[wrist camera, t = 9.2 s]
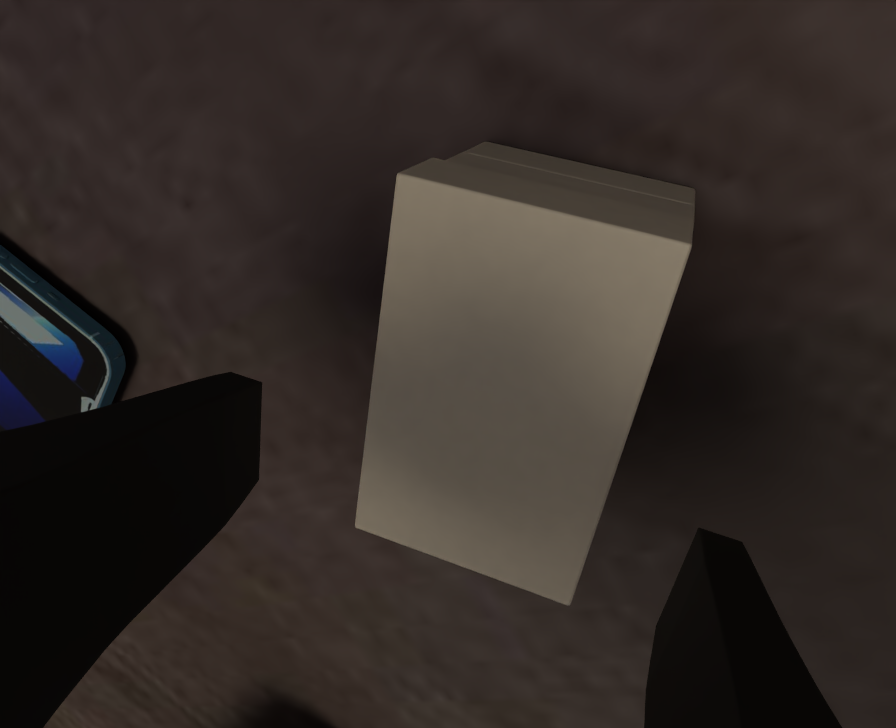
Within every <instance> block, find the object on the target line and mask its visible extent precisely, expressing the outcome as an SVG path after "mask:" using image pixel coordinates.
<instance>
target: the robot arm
mask: <svg viewBox="0 0 896 728" xmlns="http://www.w3.org/2000/svg"><path fill="white" fill-rule="evenodd" d="M261 399H262V382H259V381H256V380H253V379H250V378H247V377H244V376H241V375H238V374H235V373H232V372H228V373H223V374H218V375H214V376H210V377H206V378H202V379H198V380H195V381H191V382H187V383H184V384H180V385H177V386H173V387H170V388H166V389H163V390H160V391H156V392H153V393H149V394H146V395H142V396H139V397H135V398H132V399H128V400H125V401H121V402H118V403H114V404H111V405H107V406H104V407H100V408H96V409H92V410H88V411H84V412H80V413H76V414H73V415H69V416H65V417H61V418H57V419H53V420H49V421H45V422H41V423H37V424H33V425H28V426H24V427H19V428H15V429H10V430H5V431H0V728H43V727H44V726H45V724H46V723H47V722H48V720H49V719H50V718H51V716H52V715H53V714H54V713H55V711H56V710H57V709H58V707H59V706H60V705H61V703H62V702H63V701H64V700H65V698H66V697H67V696H68V695H69V693H70V692H71V691H72V690H73V689H74V687H75V686H76V685H77V684H78V682H79V681H80V680H81V679H82V677H83V676H84V675H85V674H86V673H87V671H88V670H89V669H90V668H91V666H92V665H93V664H94V663H95V661H96V660H97V659H98V658H99V657H100V655H101V654H102V653H103V652H104V650H105V649H106V648H107V647H108V646H109V645H110V644H111V642H112V641H113V640H114V639H115V638H116V637H117V636H118V635H119V634H120V633H121V632H122V630H123V629H124V628H125V627H126V626H127V625H128V624H129V623H130V622H131V621H132V620H133V619H134V618H135V617H136V616H137V615H138V614H139V613H140V612H141V611H142V610H143V609H144V608H145V607H146V606H147V605H148V604H149V603H150V602H151V601H152V600H153V599H154V598H155V597H156V596H157V595H158V594H159V593H160V592H161V591H162V590H163V589H164V587H165V586H166V585H167V584H168V583H169V582H170V581H171V580H172V579H173V578H174V577H175V576H176V575H177V574H178V573H179V572H180V571H181V570H182V569H183V568H184V567H185V566H186V565H187V564H188V563H189V562H190V561H191V560H192V559H193V558H194V557H195V556H196V555H197V554H198V553H199V552H200V551H201V550H202V549H203V548H204V547H205V546H206V545H207V544H208V543H209V542H210V541H211V540H212V539H213V538H214V537H215V535H216V534H217V533H218V532H219V531H220V530H221V529H222V528H223V527H224V526H225V525H226V523H227V522H228V521H229V520H230V518H231V517H232V516H233V514H234V513H235V512H236V510H237V509H238V508H239V507H240V505H241V504H242V503H243V501H244V500H245V498H246V497H247V496H248V494H249V493H250V491H251V490H252V489H253V487H254V486H255V484H256V483H257V482H258V480H259V461H260V430H261ZM644 728H842V727H841V725H840V723H839V722H838V720H837V719H836V717H835V715H834V714H833V712H832V711H831V709H830V707H829V706H828V704H827V702H826V701H825V699H824V697H823V696H822V694H821V692H820V691H819V689H818V687H817V685H816V684H815V682H814V680H813V678H812V677H811V675H810V673H809V671H808V669H807V667H806V666H805V664H804V662H803V660H802V658H801V657H800V655H799V653H798V651H797V649H796V647H795V646H794V644H793V642H792V640H791V638H790V636H789V634H788V633H787V631H786V629H785V627H784V625H783V623H782V621H781V619H780V617H779V615H778V613H777V611H776V609H775V607H774V605H773V603H772V601H771V599H770V597H769V595H768V593H767V591H766V589H765V587H764V585H763V583H762V581H761V579H760V577H759V575H758V573H757V570H756V568H755V566H754V564H753V562H752V560H751V558H750V556H749V554H748V552H747V550H746V548H745V546H744V545H743V543H742V542H741V541H738V540H735V539H732V538H729V537H726V536H723V535H720V534H717V533H714V532H711V531H708V530H705V529H702V528H698V530H697V532H696V535H695V537H694V539H693V542H692V544H691V546H690V549H689V551H688V553H687V556H686V558H685V560H684V563H683V565H682V567H681V570H680V572H679V574H678V576H677V579H676V581H675V583H674V586H673V588H672V590H671V593H670V595H669V597H668V600H667V602H666V604H665V607H664V609H663V611H662V614H661V616H660V618H659V621H658V623H657V625H656V630H655V636H654V642H653V648H652V654H651V660H650V667H649V673H648V680H647V687H646V701H645V725H644Z"/></svg>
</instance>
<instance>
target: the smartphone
mask: <svg viewBox="0 0 896 728" xmlns="http://www.w3.org/2000/svg"><path fill="white" fill-rule="evenodd" d="M125 367H126V362H125V356H124V353H123V350H122V348H121V346H120V344H119V343H118V341H117V340H116V338H115V337H114V336H113V335H112V334H111V333H110V332H109V331H108V330H106V329H105V328H104V327H103V326H101V325H100V324H99V323H98V322H96V321H95V320H94V319H93V318H91V317H90V316H89V315H88V314H86V313H85V312H84V311H83V310H81V309H80V308H79V307H78V306H76V305H75V304H74V303H73V302H71V301H70V300H69V299H68V298H66V297H65V296H64V295H63V294H61V293H60V292H59V291H58V290H56V289H55V288H54V287H53V286H51V285H50V284H49V283H48V282H46V281H45V280H44V279H43V278H41V277H40V276H39V275H38V274H36V273H35V272H34V271H33V270H31V269H30V268H29V267H28V266H26V265H25V264H24V263H23V262H21V261H20V260H19V259H18V258H16V257H15V256H14V255H13V254H11V253H10V252H9V251H8V250H6V249H5V248H4V247H3V246H1V245H0V431H5V430H10V429H15V428H19V427H24V426H28V425H33V424H37V423H41V422H45V421H49V420H53V419H57V418H61V417H65V416H69V415H73V414H76V413H80V412H84V411H88V410H92V409H96V408H100V407H104V406H107V405H111V404H112V402H113V399H114V397H115V394H116V392H117V389H118V387H119V384H120V382H121V380H122V377H123V375H124V372H125Z"/></svg>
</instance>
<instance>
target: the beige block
mask: <svg viewBox="0 0 896 728" xmlns="http://www.w3.org/2000/svg"><path fill="white" fill-rule="evenodd" d="M445 161H450V162H454V163H458V164H462V165H467V166H471V167H475V168H479V169H484V170H488V171H492V172H496V173H501V174H505V175H509V176H513V177H518V178H522V179H526V180H531V181H535V182H539V183H543V184H548V185H552V186H556V187H560V188H565V189H569V190H573V191H577V192H582V193H586V194H590V195H594V196H599V197H603V198H607V199H611V200H616V201H620V202H624V203H629V204H633V205H637V206H641V207H646V208H650V209H654V210H658V211H663V212H667V213H671V214H675V215H680V216H684V217H688V218H692V219H693V230H694V214H695V189H693V188H690V187H686V186H681V185H677V184H673V183H668V182H664V181H659V180H655V179H650V178H646V177H642V176H637V175H633V174H628V173H624V172H619V171H615V170H610V169H606V168H602V167H597V166H593V165H588V164H584V163H579V162H575V161H571V160H566V159H562V158H557V157H553V156H548V155H544V154H539V153H535V152H531V151H526V150H522V149H517V148H513V147H508V146H504V145H499V144H495V143H491V142H483V143H481V144H479V145H477V146H475V147H473V148H471V149H469V150H467V151H464V152H462V153H459V154H457V155H455V156H453V157H451V158H449V159H447V160H445Z"/></svg>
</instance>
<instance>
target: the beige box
mask: <svg viewBox="0 0 896 728" xmlns="http://www.w3.org/2000/svg"><path fill="white" fill-rule="evenodd" d="M692 236H693V219H692V218H688V217H684V216H680V215H675V214H671V213H667V212H663V211H658V210H654V209H650V208H646V207H641V206H637V205H633V204H629V203H624V202H620V201H616V200H611V199H607V198H603V197H599V196H594V195H590V194H586V193H582V192H577V191H573V190H569V189H565V188H560V187H556V186H552V185H548V184H543V183H539V182H535V181H531V180H526V179H522V178H518V177H513V176H509V175H505V174H501V173H496V172H492V171H488V170H484V169H479V168H475V167H471V166H467V165H462V164H458V163H454V162H450V161H445V160H441V159H437V158H431V159H428V160H426V161H424V162H422V163H419V164H417V165H415V166H413V167H410V168H408V169H406V170H404V171H401V172H399V173H398V174H397V177H396V186H395V194H394V203H393V211H392V219H391V228H390V236H389V244H388V253H387V261H386V269H385V278H384V286H383V294H382V303H381V311H380V319H379V328H378V336H377V344H376V353H375V361H374V369H373V378H372V386H371V395H370V403H369V411H368V420H367V428H366V436H365V445H364V453H363V461H362V470H361V478H360V486H359V495H358V503H357V511H356V520H355V527H356V528H359V529H361V530H364V531H367V532H369V533H372V534H375V535H378V536H380V537H383V538H386V539H388V540H391V541H394V542H397V543H399V544H402V545H405V546H407V547H410V548H413V549H416V550H418V551H421V552H424V553H426V554H429V555H432V556H435V557H437V558H440V559H443V560H446V561H448V562H451V563H454V564H456V565H459V566H462V567H465V568H467V569H470V570H473V571H475V572H478V573H481V574H484V575H486V576H489V577H492V578H494V579H497V580H500V581H503V582H505V583H508V584H511V585H513V586H516V587H519V588H522V589H524V590H527V591H530V592H532V593H535V594H538V595H541V596H543V597H546V598H549V599H552V600H554V601H557V602H560V603H562V604H565V605H570V604H571V602H572V599H573V596H574V593H575V590H576V587H577V584H578V581H579V578H580V575H581V572H582V569H583V566H584V564H585V561H586V558H587V555H588V552H589V549H590V546H591V543H592V540H593V537H594V534H595V531H596V528H597V525H598V522H599V519H600V516H601V513H602V510H603V508H604V505H605V502H606V499H607V496H608V493H609V490H610V487H611V484H612V481H613V478H614V475H615V472H616V469H617V466H618V463H619V460H620V457H621V454H622V451H623V449H624V446H625V443H626V440H627V437H628V434H629V431H630V428H631V425H632V422H633V419H634V416H635V413H636V410H637V407H638V404H639V401H640V398H641V395H642V392H643V390H644V387H645V384H646V381H647V378H648V375H649V372H650V369H651V366H652V363H653V360H654V357H655V354H656V351H657V348H658V345H659V342H660V339H661V336H662V333H663V331H664V328H665V325H666V322H667V319H668V316H669V313H670V310H671V307H672V304H673V301H674V298H675V295H676V292H677V289H678V286H679V283H680V280H681V277H682V275H683V272H684V269H685V266H686V263H687V260H688V257H689V254H690V251H691V248H692Z"/></svg>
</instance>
